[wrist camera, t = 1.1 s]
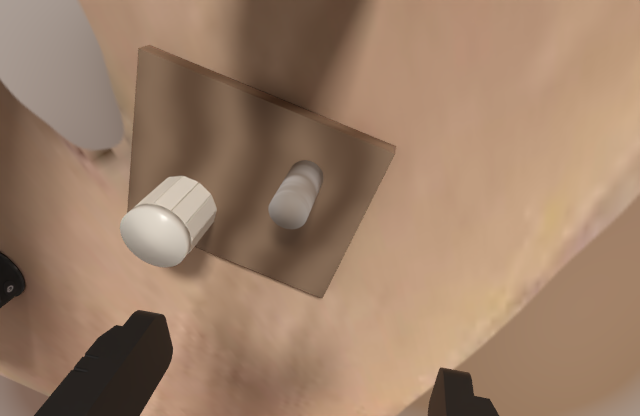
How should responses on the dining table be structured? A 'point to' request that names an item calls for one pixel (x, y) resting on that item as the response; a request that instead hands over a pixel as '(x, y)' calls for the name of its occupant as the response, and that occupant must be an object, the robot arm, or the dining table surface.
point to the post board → (255, 168)
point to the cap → (169, 221)
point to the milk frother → (9, 281)
